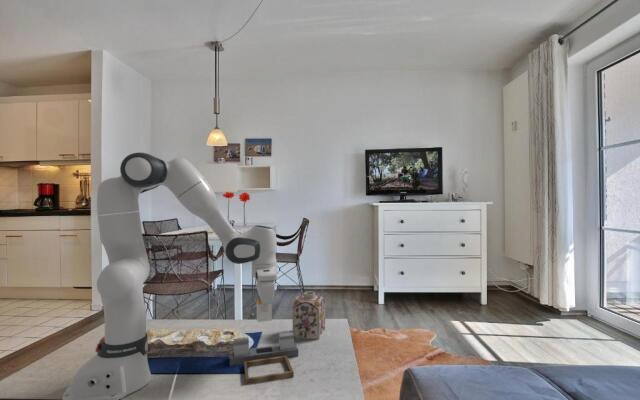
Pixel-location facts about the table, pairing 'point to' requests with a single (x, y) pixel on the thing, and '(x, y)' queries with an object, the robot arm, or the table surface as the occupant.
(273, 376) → the brown wooden frame
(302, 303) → the decorative jar
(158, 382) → the table surface
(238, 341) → the block
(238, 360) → the fuse holder
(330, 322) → the table surface
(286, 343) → the right fuse
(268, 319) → the block
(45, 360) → the table surface
